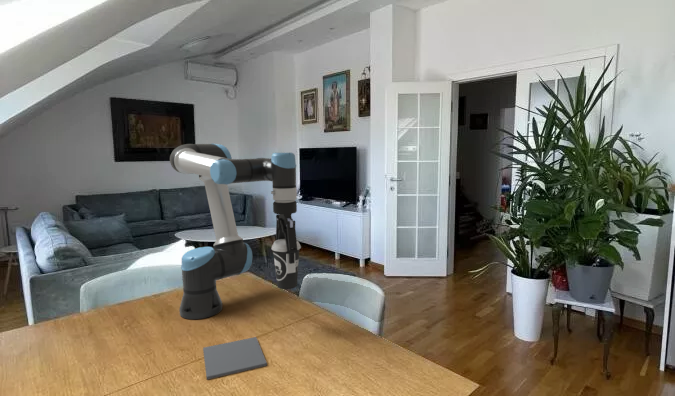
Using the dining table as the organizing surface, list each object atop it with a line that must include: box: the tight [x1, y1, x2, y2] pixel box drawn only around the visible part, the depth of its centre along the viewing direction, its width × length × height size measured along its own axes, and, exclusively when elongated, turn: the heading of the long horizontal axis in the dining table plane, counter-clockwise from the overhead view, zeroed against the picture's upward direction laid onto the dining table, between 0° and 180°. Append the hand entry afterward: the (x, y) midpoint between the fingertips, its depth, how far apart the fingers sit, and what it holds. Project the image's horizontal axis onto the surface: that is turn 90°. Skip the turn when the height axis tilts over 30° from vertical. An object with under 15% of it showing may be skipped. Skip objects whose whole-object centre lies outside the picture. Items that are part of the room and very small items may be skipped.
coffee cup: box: [271, 239, 302, 290], centre depth 123 cm, size 10×10×15 cm
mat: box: [202, 336, 268, 381], centre depth 109 cm, size 16×16×1 cm
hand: (286, 267), depth 123 cm, fingers closed on coffee cup, 9 cm apart
